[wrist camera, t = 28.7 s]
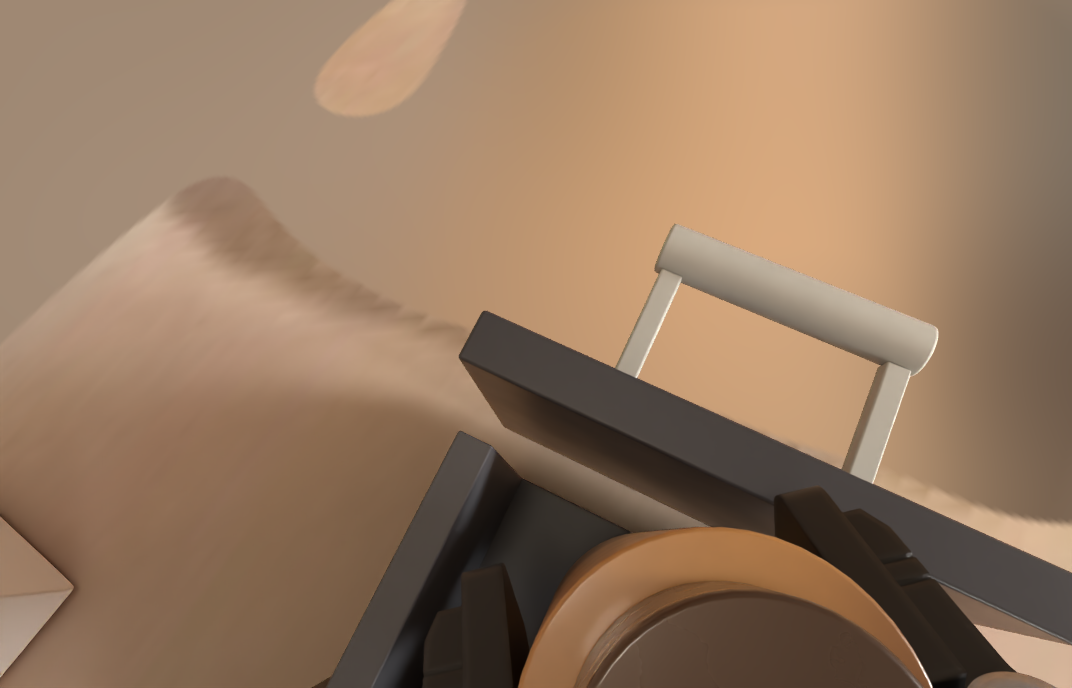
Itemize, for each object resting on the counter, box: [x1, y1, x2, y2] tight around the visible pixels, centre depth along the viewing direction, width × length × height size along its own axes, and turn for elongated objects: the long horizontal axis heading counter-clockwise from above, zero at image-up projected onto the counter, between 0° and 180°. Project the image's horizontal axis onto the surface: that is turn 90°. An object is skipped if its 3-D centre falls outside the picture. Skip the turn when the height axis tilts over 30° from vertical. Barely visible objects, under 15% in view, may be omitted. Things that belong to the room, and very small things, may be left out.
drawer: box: [326, 224, 1072, 688], centre depth 16 cm, size 20×12×9 cm, turn 154°
